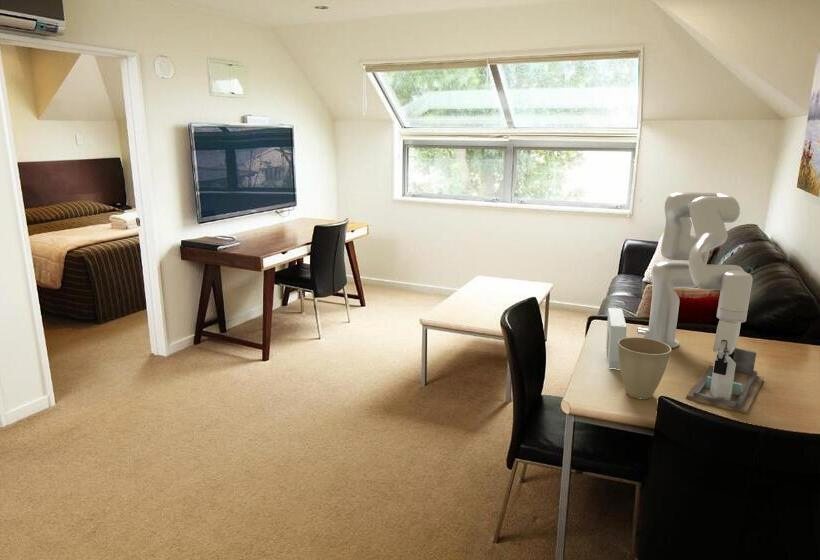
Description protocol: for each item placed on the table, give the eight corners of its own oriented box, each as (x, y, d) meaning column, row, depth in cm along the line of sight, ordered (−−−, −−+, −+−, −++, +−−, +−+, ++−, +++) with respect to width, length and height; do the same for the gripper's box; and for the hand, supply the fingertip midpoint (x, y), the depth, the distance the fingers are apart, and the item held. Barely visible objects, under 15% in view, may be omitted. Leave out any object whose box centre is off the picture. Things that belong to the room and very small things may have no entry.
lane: (686, 398, 173) (689, 370, 171) (708, 367, 196) (712, 342, 193) (746, 414, 163) (751, 384, 161) (763, 380, 186) (767, 354, 184)
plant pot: (671, 407, 167) (677, 356, 163) (617, 403, 170) (622, 352, 166) (658, 385, 181) (664, 338, 178) (609, 382, 184) (614, 335, 180)
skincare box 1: (604, 348, 214) (608, 307, 210) (619, 349, 212) (623, 308, 209) (607, 369, 194) (611, 325, 190) (624, 371, 193) (628, 326, 189)
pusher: (705, 387, 177) (707, 377, 176) (706, 386, 178) (707, 375, 177) (739, 395, 172) (741, 385, 171) (740, 394, 172) (742, 384, 172)
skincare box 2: (730, 401, 169) (736, 363, 166) (715, 400, 170) (720, 362, 167) (724, 392, 174) (730, 355, 171) (709, 391, 175) (714, 354, 172)
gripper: (723, 304, 175) (715, 356, 179) (710, 318, 162) (702, 374, 166) (751, 308, 170) (742, 362, 175) (740, 324, 157) (731, 381, 162)
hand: (723, 368), depth 170 cm, fingers open, 9 cm apart
